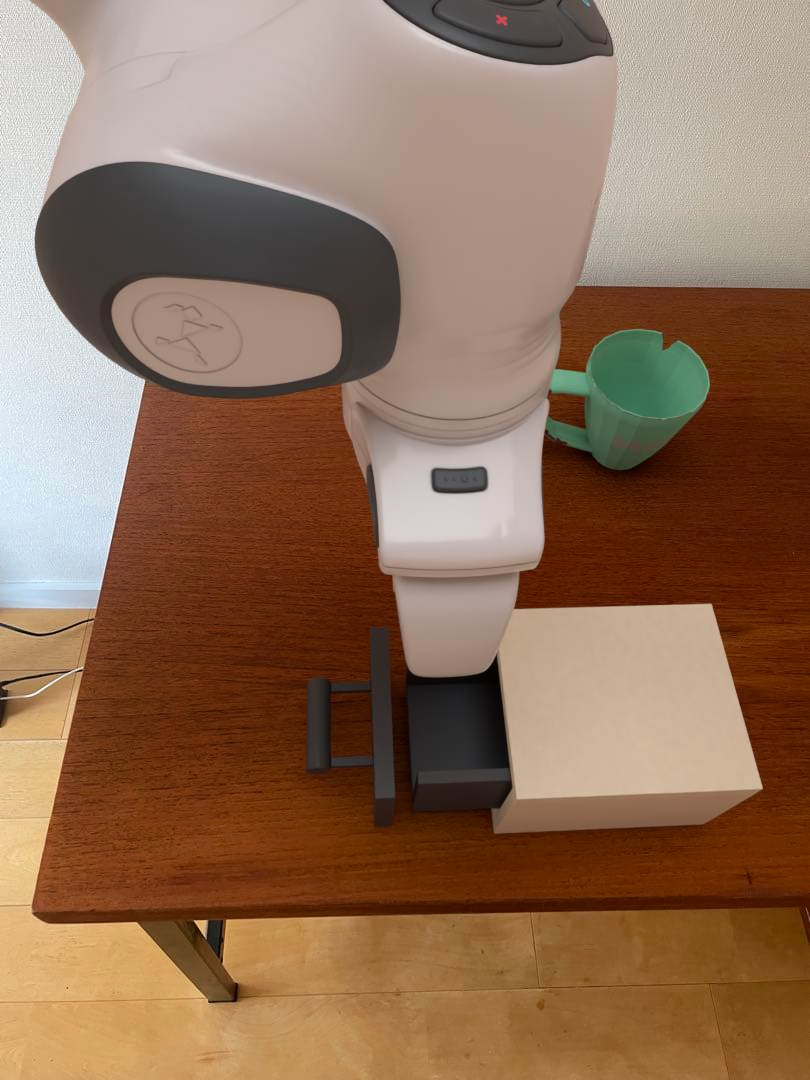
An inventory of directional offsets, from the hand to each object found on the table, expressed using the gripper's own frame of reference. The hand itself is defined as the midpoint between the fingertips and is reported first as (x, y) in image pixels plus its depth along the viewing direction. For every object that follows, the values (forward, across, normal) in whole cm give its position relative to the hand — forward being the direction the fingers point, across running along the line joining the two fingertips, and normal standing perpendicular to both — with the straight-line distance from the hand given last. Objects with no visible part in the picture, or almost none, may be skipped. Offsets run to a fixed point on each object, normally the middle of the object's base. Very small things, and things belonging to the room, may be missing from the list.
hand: (425, 548), depth 46 cm
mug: (+18, -20, +18) cm, 32 cm away
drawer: (+16, +7, +1) cm, 18 cm away
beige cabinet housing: (+17, +7, +12) cm, 22 cm away
